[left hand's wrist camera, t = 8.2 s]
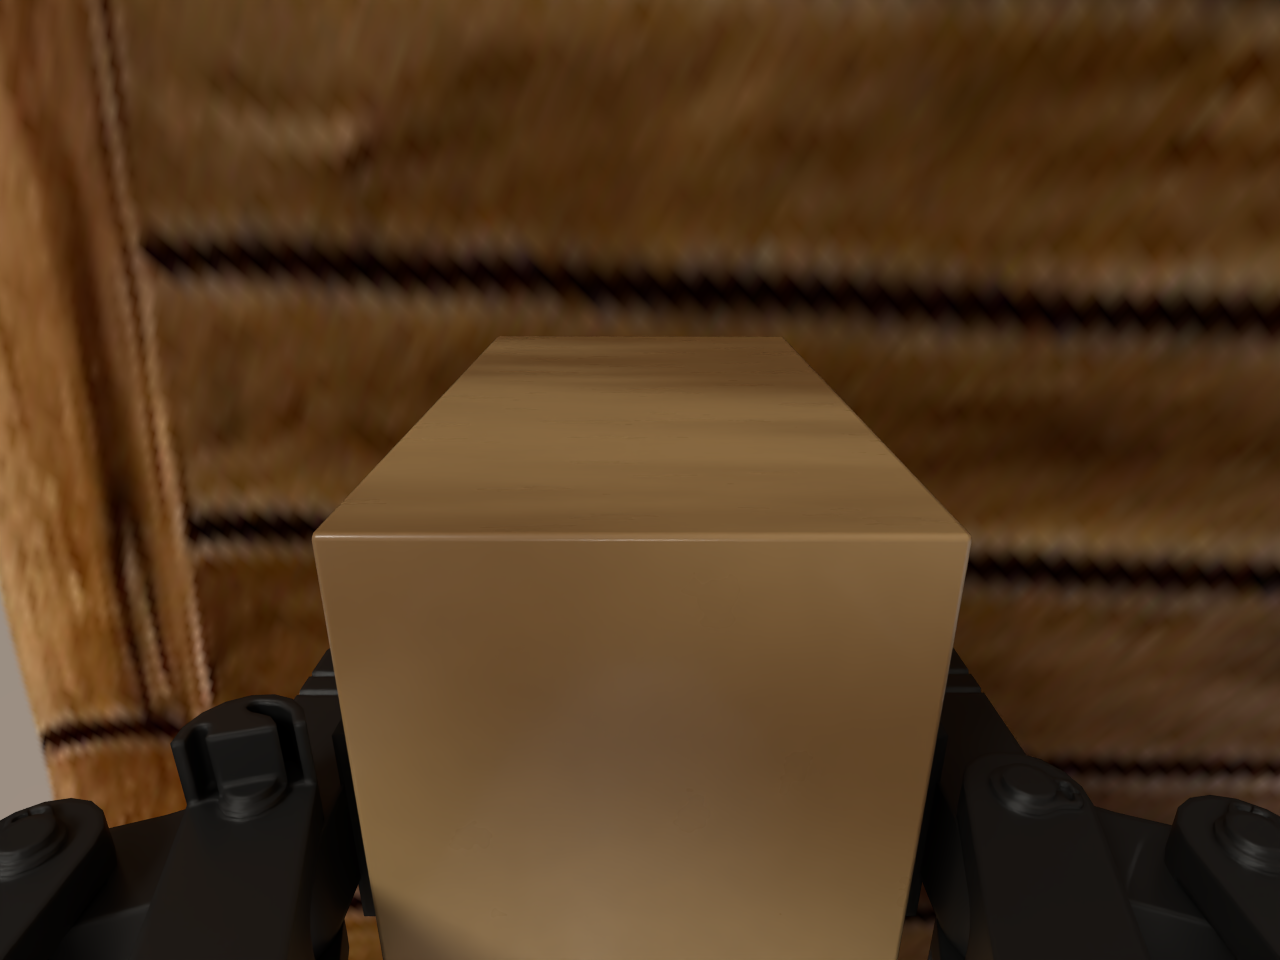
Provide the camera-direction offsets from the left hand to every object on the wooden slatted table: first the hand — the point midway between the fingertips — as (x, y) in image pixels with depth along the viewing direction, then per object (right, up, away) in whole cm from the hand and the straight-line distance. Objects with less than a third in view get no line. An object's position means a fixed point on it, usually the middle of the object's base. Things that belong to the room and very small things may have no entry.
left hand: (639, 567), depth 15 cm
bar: (0, -7, +4) cm, 8 cm away
